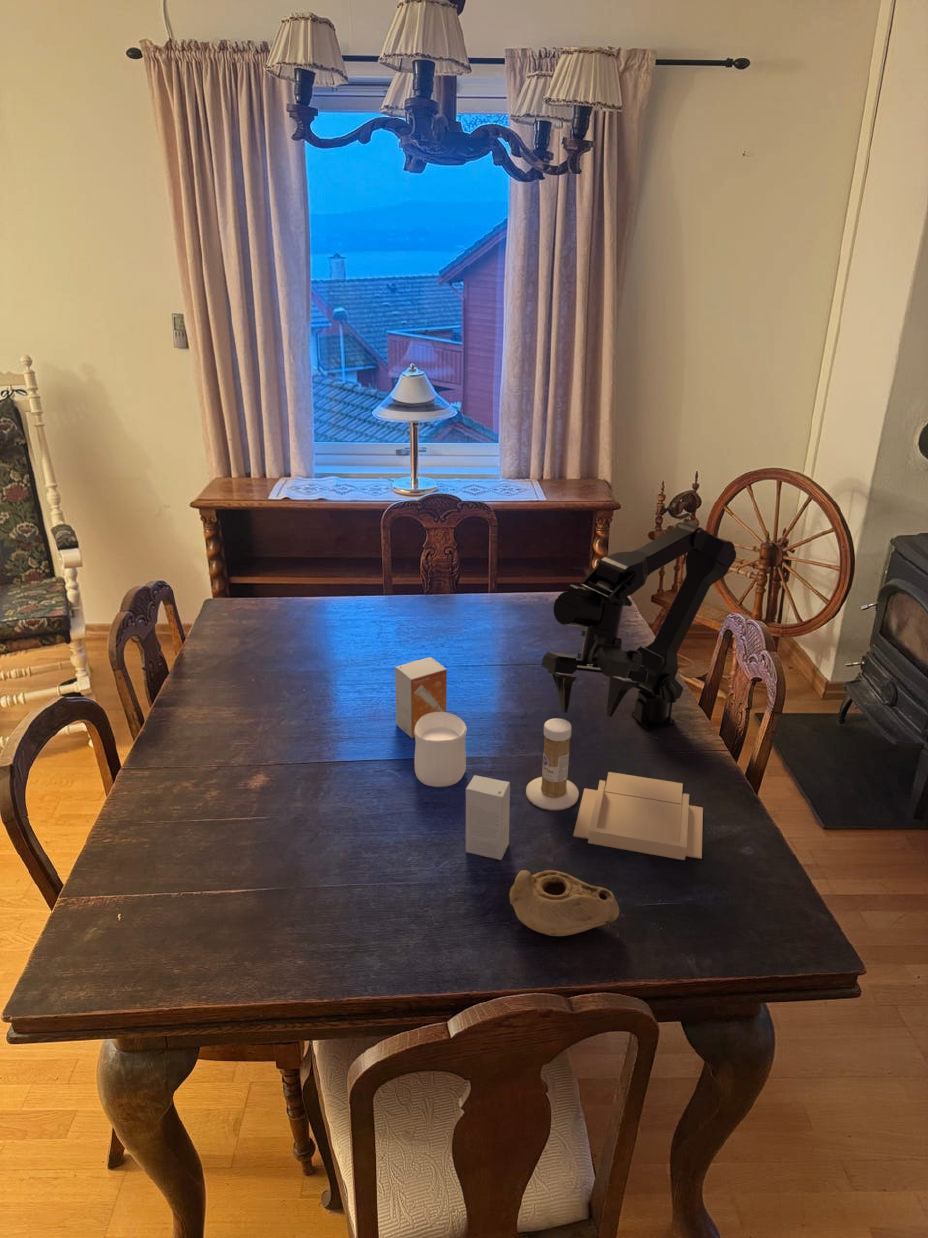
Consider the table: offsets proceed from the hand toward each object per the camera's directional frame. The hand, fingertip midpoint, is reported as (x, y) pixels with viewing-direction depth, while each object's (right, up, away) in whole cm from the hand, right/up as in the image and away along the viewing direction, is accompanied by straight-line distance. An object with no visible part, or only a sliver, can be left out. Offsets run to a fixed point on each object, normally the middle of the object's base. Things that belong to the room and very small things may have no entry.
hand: (587, 714), depth 151 cm
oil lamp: (-8, -26, -31) cm, 41 cm away
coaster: (-7, -13, -4) cm, 16 cm away
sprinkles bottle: (-6, -13, -5) cm, 15 cm away
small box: (-30, -4, +15) cm, 34 cm away
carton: (+8, -16, -9) cm, 19 cm away
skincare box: (-18, -19, -17) cm, 32 cm away
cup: (-26, -11, +1) cm, 28 cm away
